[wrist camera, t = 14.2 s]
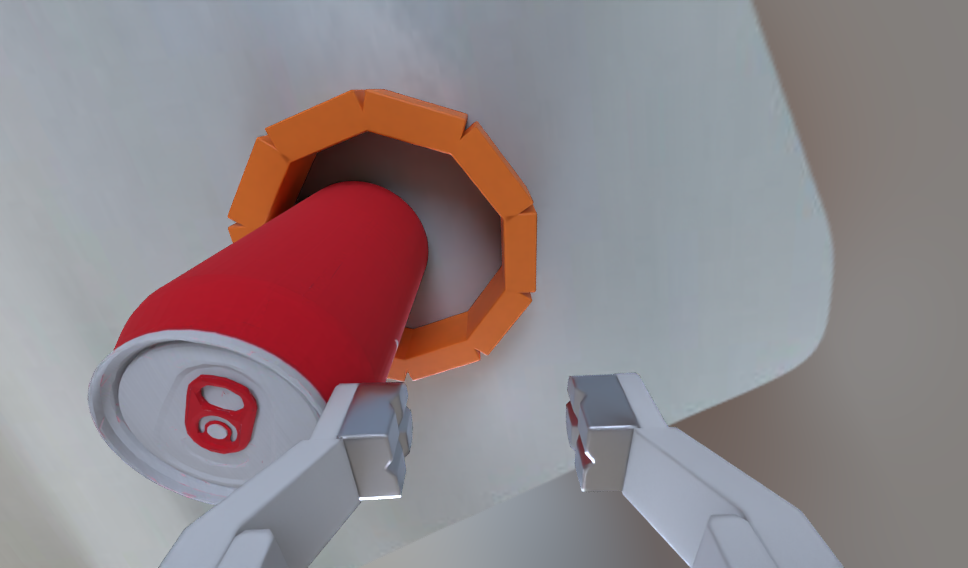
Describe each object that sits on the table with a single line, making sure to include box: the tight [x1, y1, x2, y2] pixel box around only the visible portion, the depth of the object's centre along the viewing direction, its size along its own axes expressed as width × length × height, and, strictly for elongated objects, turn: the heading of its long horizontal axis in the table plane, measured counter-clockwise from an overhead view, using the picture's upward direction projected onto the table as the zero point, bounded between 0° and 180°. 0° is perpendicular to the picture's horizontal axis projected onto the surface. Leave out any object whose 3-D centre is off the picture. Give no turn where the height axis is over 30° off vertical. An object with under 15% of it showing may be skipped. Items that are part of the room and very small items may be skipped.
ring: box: [228, 89, 537, 381], centre depth 18 cm, size 13×13×3 cm
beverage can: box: [88, 181, 428, 505], centre depth 14 cm, size 6×6×12 cm
